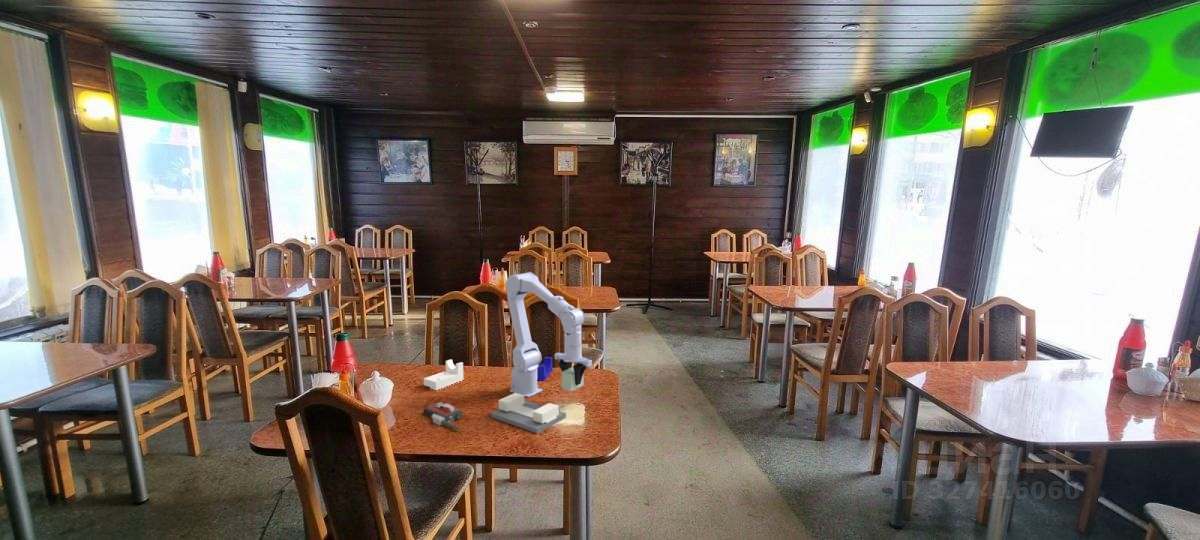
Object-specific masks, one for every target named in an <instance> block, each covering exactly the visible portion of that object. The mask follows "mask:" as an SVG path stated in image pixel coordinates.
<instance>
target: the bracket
mask: <svg viewBox="0 0 1200 540" xmlns="http://www.w3.org/2000/svg"><path fill="white" fill-rule="evenodd" d="M462 380H464V362H457V363H455V364H454V362H453V359H447V360H445V370H444V371H442V372H439V373H436V374H433V375H429V376H427V377H424V378H423V385H424V386H425V387H429V389H430V388H431V389H430V390H432V389H433V391H435V390H437V391H439V390H438V389H440V390H442V389H445V388H447V387H446V386H448V387H450V386H452V385H451V384H453V385H455V384H454V383H456V382H458V383H460V382H459V381H461V382H463V381H462ZM456 384H457V383H456ZM449 385H450V386H449ZM444 387H445V388H444ZM441 388H442V389H441Z"/></svg>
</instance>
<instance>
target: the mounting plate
mask: <svg viewBox="0 0 1200 540" xmlns="http://www.w3.org/2000/svg"><path fill="white" fill-rule="evenodd" d="M490 418H492V419H494V420H495V419H496V420H497V421H501V422H503V423H506V424H509V425H513V426H515V427H517V428H521V429H523V430H526V431H529V432H532V433H535V434H539V433H541V432H543V431H544V430H547V429H548V428H550V427H552V426H553V425H555V424H557V423H558V422H560V421H562V420H564V419H566V418H567V413H566V412H564V411H561V410H560V406H559V405H557V404H554V403H550V402H548V403H546V404H544V405H542V404H538V403H535V402H533V401H532V402H531V401H528V400H525V396H524V395H522V394H518V393H512V394H509V395H507V396H505V397H503V398H500V399H498V409H496V410H494V411H492V412H490Z"/></svg>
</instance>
